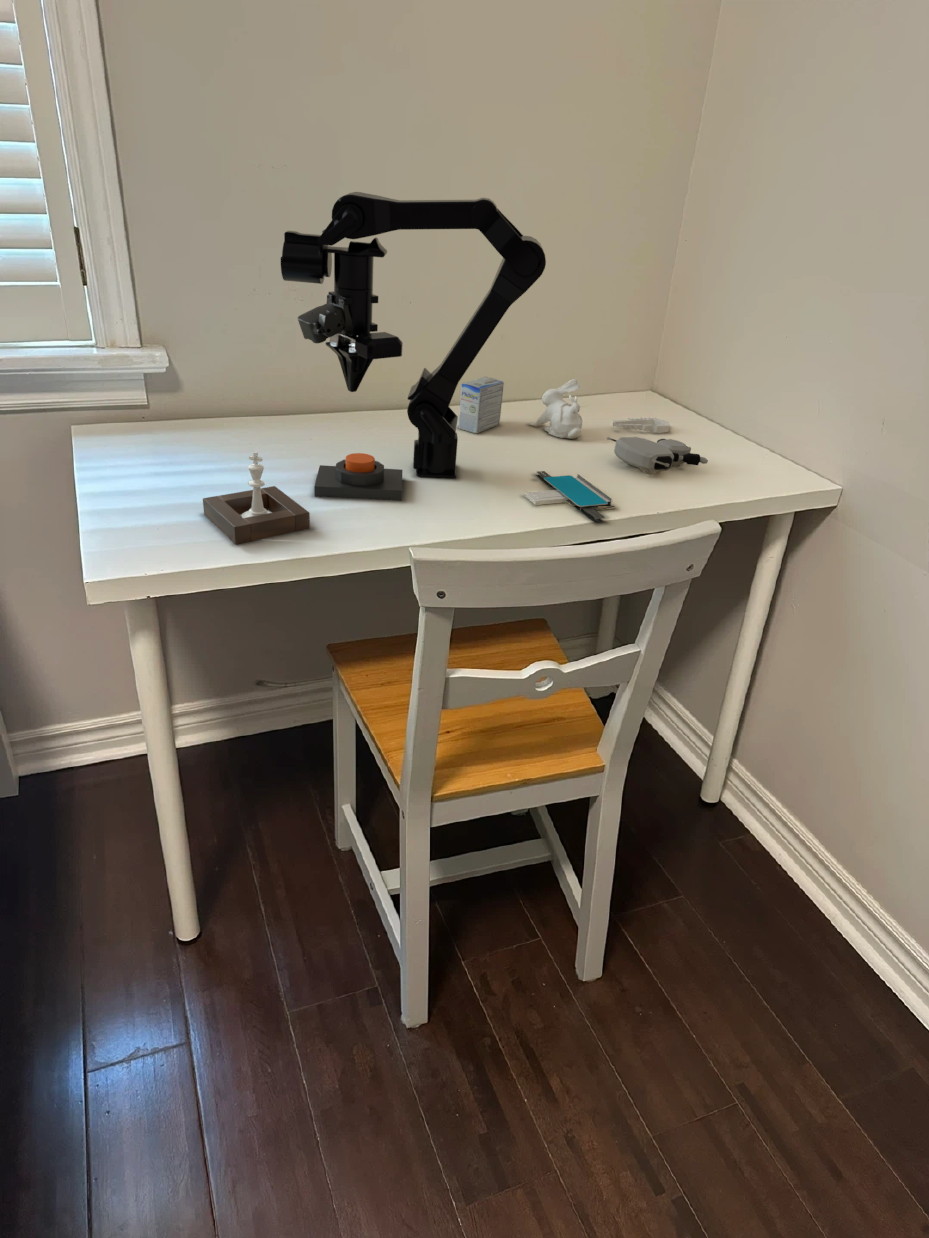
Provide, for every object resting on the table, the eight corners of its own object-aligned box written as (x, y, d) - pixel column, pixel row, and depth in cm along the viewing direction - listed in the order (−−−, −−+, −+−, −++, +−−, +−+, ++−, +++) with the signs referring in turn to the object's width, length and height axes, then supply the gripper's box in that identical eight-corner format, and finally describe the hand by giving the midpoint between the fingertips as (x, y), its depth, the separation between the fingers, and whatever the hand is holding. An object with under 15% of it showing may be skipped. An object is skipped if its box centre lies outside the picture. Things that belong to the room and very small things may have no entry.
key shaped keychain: (622, 436, 166) (624, 427, 165) (608, 428, 170) (610, 419, 169) (677, 432, 171) (679, 423, 170) (662, 424, 175) (664, 416, 174)
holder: (275, 501, 126) (274, 485, 124) (310, 529, 118) (309, 512, 117) (203, 515, 120) (202, 498, 118) (235, 544, 112) (234, 527, 111)
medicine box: (481, 420, 168) (485, 375, 163) (500, 425, 166) (504, 380, 161) (457, 428, 162) (460, 382, 158) (476, 434, 160) (480, 388, 156)
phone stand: (503, 478, 141) (504, 468, 140) (566, 473, 146) (568, 463, 145) (560, 527, 125) (561, 516, 125) (629, 519, 130) (631, 509, 129)
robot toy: (661, 455, 160) (599, 458, 152) (667, 431, 158) (604, 433, 150) (708, 477, 151) (645, 482, 144) (715, 453, 149) (651, 456, 141)
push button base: (402, 479, 137) (402, 458, 135) (401, 501, 129) (402, 479, 128) (319, 475, 136) (319, 454, 134) (314, 497, 128) (314, 474, 126)
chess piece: (266, 531, 117) (264, 461, 112) (233, 524, 118) (229, 455, 113) (282, 518, 121) (280, 450, 116) (250, 511, 122) (247, 444, 117)
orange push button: (375, 464, 133) (375, 453, 132) (374, 474, 129) (374, 463, 129) (346, 463, 133) (346, 452, 132) (344, 473, 129) (344, 462, 128)
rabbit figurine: (527, 424, 168) (533, 374, 163) (558, 420, 171) (564, 372, 167) (565, 443, 159) (573, 391, 154) (596, 439, 163) (605, 388, 158)
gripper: (274, 277, 129) (277, 381, 137) (339, 301, 117) (339, 414, 125) (338, 275, 135) (338, 374, 143) (406, 297, 123) (402, 405, 131)
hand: (352, 391), depth 135 cm, fingers closed
